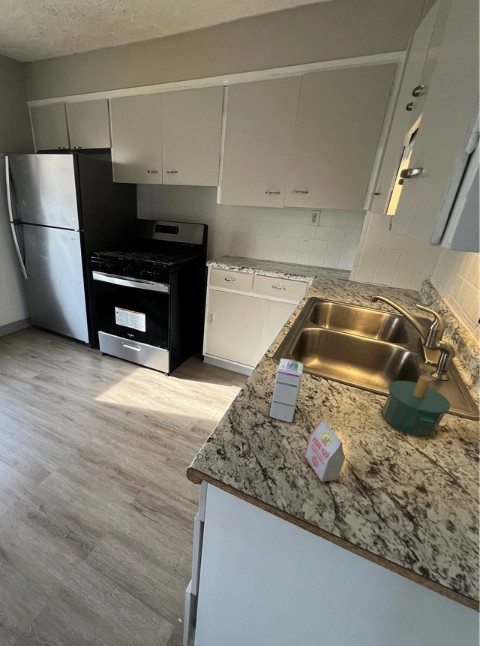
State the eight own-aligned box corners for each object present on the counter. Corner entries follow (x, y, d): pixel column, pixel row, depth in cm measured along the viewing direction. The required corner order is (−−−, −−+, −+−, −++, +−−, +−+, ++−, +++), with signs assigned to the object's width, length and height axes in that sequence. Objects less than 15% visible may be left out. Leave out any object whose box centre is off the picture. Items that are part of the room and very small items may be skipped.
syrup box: (292, 423, 78) (303, 373, 71) (268, 416, 80) (277, 367, 73) (294, 410, 82) (305, 362, 76) (271, 404, 84) (280, 357, 78)
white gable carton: (319, 453, 69) (329, 418, 65) (337, 479, 63) (350, 441, 59) (304, 455, 68) (313, 419, 64) (321, 481, 62) (333, 444, 58)
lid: (437, 390, 81) (446, 370, 79) (458, 421, 70) (469, 399, 68) (382, 380, 85) (389, 360, 82) (393, 408, 74) (402, 386, 71)
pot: (423, 406, 86) (433, 383, 83) (446, 450, 71) (460, 425, 68) (376, 397, 89) (384, 374, 86) (389, 437, 75) (400, 412, 71)
